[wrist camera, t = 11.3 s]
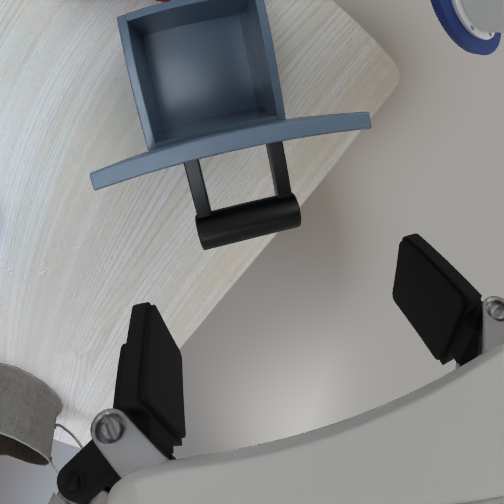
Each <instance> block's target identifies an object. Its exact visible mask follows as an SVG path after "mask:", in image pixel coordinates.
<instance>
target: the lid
mask: <svg viewBox="0 0 504 504" xmlns="http://www.w3.org/2000/svg"><path fill="white" fill-rule="evenodd" d="M369 128H371V122H370V115H369V112H354V113H340V114H328V115H317V116H308V117H299V118H291V119H284V120H278V121H272V122H267V123H261V124H256V125H251V126H246V127H241V128H236V129H231V130H227V131H222V132H218V133H213V134H209V135H205V136H201V137H197V138H193V139H189V140H185V141H182V142H178V143H174V144H171V145H167V146H164V147H160V148H157V149H154V150H150V151H147V152H144V153H141V154H139V155H136V156H133V157H130V158H128V159H125V160H122V161H120V162H117V163H114V164H112V165H109V166H107V167H104V168H102V169H99V170H97V171H95V172H92V173H90V178H91V181H92V185H93V188H94V190H99V189H101V188H104V187H107V186H110V185H113V184H116V183H119V182H122V181H125V180H128V179H131V178H134V177H138V176H141V175H144V174H147V173H151V172H154V171H157V170H161V169H164V168H168V167H171V166H175V165H179V164H182V163H184V166H185V170H186V174H187V178H188V182H189V186H190V190H191V194H192V198H193V201H194V205H195V209H196V213H197V215H196V216H195V221H196V227H197V232H198V236H199V239H200V242H201V245H202V248H203V249H204V250H207V249H211V248H215V247H219V246H223V245H227V244H231V243H235V242H239V241H243V240H247V239H251V238H255V237H259V236H263V235H267V234H271V233H275V232H279V231H284V230H288V229H291V228H296V227H299V226H300V225H301V213H300V208H299V204H298V201H297V199H296V197H295V195H294V194H293V193H291V187H290V181H289V175H288V170H287V164H286V159H285V153H284V148H283V143H282V141H285V140H291V139H296V138H302V137H309V136H315V135H322V134H329V133H336V132H344V131H352V130H360V129H369ZM264 144H266V148H267V153H268V158H269V163H270V168H271V173H272V179H273V184H274V189H275V195H276V196H272V197H268V198H263V199H259V200H255V201H250V202H246V203H242V204H238V205H234V206H230V207H226V208H222V209H218V210H214V211H211V207H210V203H209V199H208V195H207V191H206V187H205V183H204V179H203V175H202V170H201V166H200V162H199V159H201V158H205V157H210V156H214V155H218V154H222V153H226V152H231V151H235V150H240V149H244V148H249V147H254V146H259V145H264Z"/></svg>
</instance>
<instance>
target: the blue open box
mask: <svg viewBox="0 0 504 504" xmlns="http://www.w3.org/2000/svg"><path fill="white" fill-rule="evenodd" d="M117 21H118V26H119V31H120V36H121V41H122V46H123V51H124V55H125V60H126V65H127V69H128V73H129V78H130V82H131V86H132V90H133V94H134V98H135V102H136V106H137V110H138V114H139V118H140V121H141V125H142V129H143V133H144V136H145V140H146V143H147V147H148V150H149V151H150V150H154V149H157V148H160V147H164V146H167V145H171V144H174V143H178V142H182V141H185V140H189V139H193V138H197V137H201V136H205V135H209V134H213V133H218V132H222V131H227V130H231V129H236V128H241V127H246V126H251V125H256V124H261V123H267V122H272V121H278V120H284V119H286V118H285V112H284V105H283V99H282V93H281V87H280V81H279V75H278V69H277V64H276V58H275V53H274V48H273V42H272V37H271V32H270V27H269V22H268V17H267V12H266V8H265V3H264V0H173V1H169V2H165V3H161V4H157V5H153V6H150V7H146V8H143V9H140V10H137V11H134V12H130V13H127V14H126V15H122V16H119V17H117Z"/></svg>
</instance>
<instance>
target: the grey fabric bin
mask: <svg viewBox="0 0 504 504" xmlns="http://www.w3.org/2000/svg"><path fill="white" fill-rule="evenodd" d="M62 407H63V405H62V403H61V400H60V398H59V397H58V396H57V395H56V393H55V392H54V391H53V390H52V389H50V388H49V387H48V386H47V385H46V384H44V383H43V382H42V381H40V380H38V379H37V378H35V377H34V376H32V375H31V374H28V373H26V372H24V371H22V370H20V369H18V368H15V367H12V366H9V365H6V364H0V455H2V456H3V455H4V456H5V455H6V456H10V457H13V458H15V459H18V460H21V461H24V462H27V463H30V464H35V465H41V466H46V465H49V464H50V462H51V465H52V467H53V468H54V470H55V471H56V472H57V473H58V474H59V471H58V470H57V469H56V468H55V467H54V465H53V463H52V457H51V449H52V442H53V435H54V429H56V426H59V427H61V428H63V429H64V430H65V431H67V432H68V433H69V434H70V435H71V436H72V437H73V438H74V439H75V440H76V441H77V443H78V444H79V445H80V447H81V449H83V446H82V445H81V443H80V442H79V440H78V439H77V438H76V437H75V436H74V435H73V434H72V433H71V432H70V431H69V430H68V429H66V428H65V427H64V426H62V425H61V424H55V423H56V417H57V416H58V415H59V414H60V412H61V411H62Z"/></svg>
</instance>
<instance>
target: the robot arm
mask: <svg viewBox="0 0 504 504" xmlns="http://www.w3.org/2000/svg"><path fill="white" fill-rule="evenodd" d="M451 2H452V5H453V8H454V10H455V13H456V14H457V16H458V18H459V20H460V21H461V23H462V24H463V26H464V27H465V28H466V30H467V31H468V32H469V33H470V34H472V35H473V36H474V37H476V38H478V39H482V40H488V39H491V38H492V37H493V36H494V34H495V32H498V33H504V0H451ZM392 294H393V299H394V301H395V303H396V304H397V305H398V306H399V308H400V309H401V311H402V312H403V313H404V315H405V316H406V317H407V319H408V320H409V322H410V323H411V324H412V326H413V327H414V329H415V330H416V331H417V333H418V334H419V336H420V337H421V338H422V340H423V341H424V343H425V344H426V346H427V347H428V349H429V350H430V352H431V353H432V355H433V356H434V357H435V358H436V359H437V360H438V359H439V360H440V362H441V363H442V365H444V364H446V363H447V362H449V361H451V360H453V358H454V359H455V361H456V369H455V370H453V371H452V372H450V373H448V374H446V375H444V376H443V377H441V378H439V379H437V380H435V381H433V382H431V383H429V384H427V385H425V386H423V387H421V388H419V389H417V390H415V391H413V392H411V393H409V394H407V395H405V396H402V397H400V398H398V399H396V400H393V401H391V402H389V403H387V404H384V405H382V406H379V407H377V408H375V409H372V410H370V411H367V412H364V413H362V414H360V415H357V416H354V417H351V418H349V419H346V420H343V421H340V422H337V423H334V424H331V425H328V426H325V427H322V428H319V429H315V430H312V431H309V432H306V433H302V434H299V435H295V436H291V437H288V438H284V439H280V440H276V441H272V442H267V443H263V444H259V445H254V446H249V447H244V448H239V449H234V450H230V451H224V452H218V453H212V454H206V455H199V456H193V457H187V458H181V459H176V458H175V457H174V456H173V455H172V454H173V446H181V445H182V438H184V437H185V435H186V431H185V416H184V399H183V375H182V356H181V353H180V350H179V349H178V347H177V345H176V343H175V341H174V339H173V338H172V336H171V334H170V332H169V330H168V328H167V326H166V325H165V323H164V321H163V319H162V317H161V315H160V313H159V311H158V309H157V307H156V306H155V305H151V304H150V303H149V302H146V303H141V304H137V305H134V306H133V308H132V313H131V319H130V324H129V330H128V337H127V343H126V344H123V345H122V347H121V351H120V357H119V364H118V371H117V378H116V386H115V395H114V404H113V409H107V410H104V411H102V412H100V413H99V414H98V415H97V416H96V417H95V418H94V420H93V422H92V424H91V429H90V430H91V437H92V440H91V441H90V442H89V443H88V444H87V445H86V446H85V447H84V448H83V449H82V450H80V452H78V453H77V454H76V455H75V456H74V457H73V458H72V459H71V460H70V461H69V462H68V463H67V464H66V465H65V466H64V467H63V468H62V469H61V470H60V472H59V474H58V477H57V486H58V489H59V491H58V493H57V494H56V493H54V494H53V495H52V497H51V499H50V501H49V503H48V504H504V299H502V298H500V297H497V296H491V297H488V298H486V299H485V300H484V302H482V301H481V300H480V299H481V296H482V295H481V294H480V293H479V292H478V291H477V290H476V289H475V288H474V287H473V286H472V285H471V284H470V283H469V282H468V281H467V280H466V279H465V278H464V277H463V276H462V275H461V274H460V273H459V272H458V271H457V270H456V269H455V268H454V267H453V266H452V265H451V264H450V263H449V262H448V261H447V260H446V259H445V258H444V257H442V255H441V254H439V253H438V252H437V251H436V250H435V249H434V248H433V247H432V246H431V245H430V244H429V243H427V242H426V241H425V240H424V239H423V238H422V237H421V236H420V235H418V234H412V235H408V236H405V237H403V239H402V241H401V242H400V244H399V252H398V259H397V267H396V273H395V281H394V286H393V293H392Z"/></svg>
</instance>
